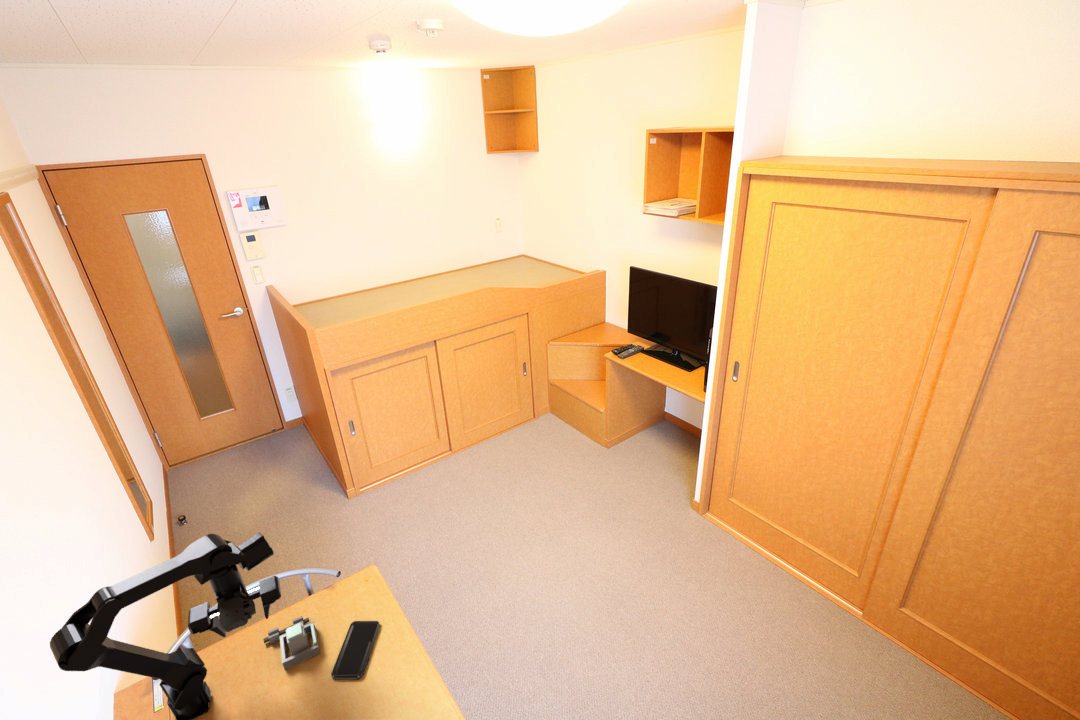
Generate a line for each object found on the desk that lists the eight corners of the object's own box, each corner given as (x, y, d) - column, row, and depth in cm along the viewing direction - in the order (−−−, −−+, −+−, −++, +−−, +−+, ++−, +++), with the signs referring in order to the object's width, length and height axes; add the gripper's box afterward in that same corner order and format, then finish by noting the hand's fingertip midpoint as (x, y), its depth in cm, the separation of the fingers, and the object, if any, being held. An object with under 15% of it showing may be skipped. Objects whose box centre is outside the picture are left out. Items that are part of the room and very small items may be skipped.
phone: (329, 677, 120) (351, 620, 134) (330, 680, 121) (352, 623, 134) (361, 677, 120) (380, 620, 133) (362, 680, 120) (381, 623, 134)
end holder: (284, 669, 123) (281, 661, 122) (281, 642, 129) (278, 634, 128) (319, 653, 126) (317, 645, 125) (315, 627, 133) (312, 619, 132)
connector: (293, 658, 126) (286, 641, 123) (291, 645, 129) (284, 628, 126) (310, 650, 127) (303, 633, 124) (308, 637, 130) (301, 620, 127)
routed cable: (265, 646, 129) (262, 641, 128) (264, 638, 131) (262, 633, 130) (310, 626, 133) (308, 620, 132) (309, 619, 135) (307, 613, 134)
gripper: (176, 629, 104) (200, 674, 111) (273, 589, 112) (291, 634, 119) (179, 590, 113) (202, 634, 120) (270, 556, 121) (286, 599, 128)
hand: (246, 626), depth 122 cm, fingers open, 9 cm apart
